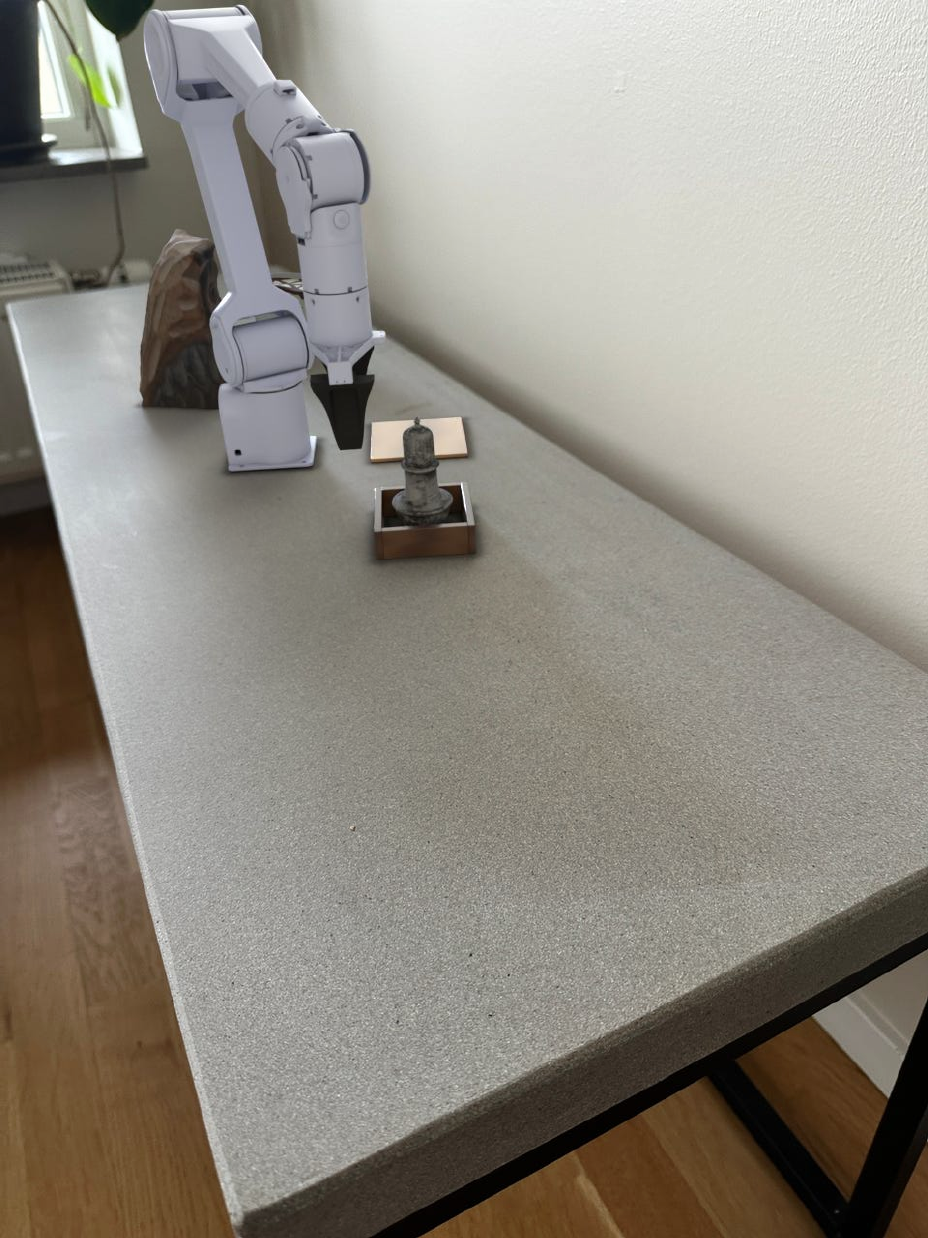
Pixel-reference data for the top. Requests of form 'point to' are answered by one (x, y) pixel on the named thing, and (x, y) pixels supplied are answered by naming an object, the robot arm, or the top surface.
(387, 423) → the coaster
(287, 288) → the food container
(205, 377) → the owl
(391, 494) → the holder
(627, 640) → the top surface
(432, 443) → the salt shaker
